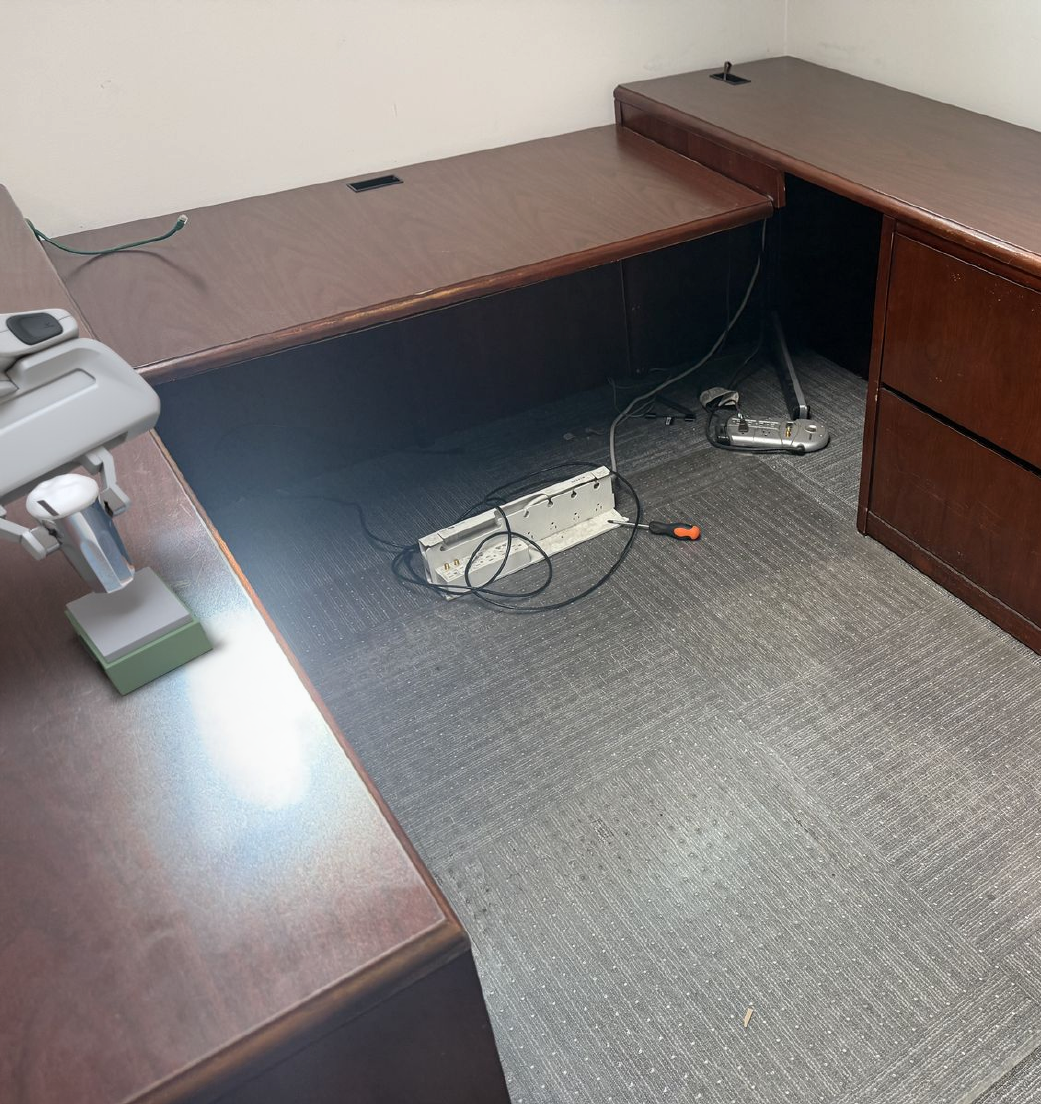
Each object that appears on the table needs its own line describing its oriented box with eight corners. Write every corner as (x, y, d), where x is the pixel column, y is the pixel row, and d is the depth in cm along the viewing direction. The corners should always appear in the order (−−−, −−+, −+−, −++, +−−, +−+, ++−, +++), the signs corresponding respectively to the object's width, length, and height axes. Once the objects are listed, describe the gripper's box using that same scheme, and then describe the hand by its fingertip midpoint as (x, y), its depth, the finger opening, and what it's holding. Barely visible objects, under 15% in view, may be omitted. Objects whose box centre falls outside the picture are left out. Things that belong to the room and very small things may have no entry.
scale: (119, 698, 76) (97, 663, 74) (77, 639, 81) (56, 605, 78) (213, 648, 80) (195, 613, 77) (167, 595, 85) (150, 561, 82)
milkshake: (72, 613, 74) (2, 507, 67) (86, 567, 78) (21, 462, 71) (138, 600, 75) (76, 494, 68) (148, 555, 79) (90, 450, 72)
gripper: (-231, 430, 61) (-63, 603, 64) (86, 300, 75) (215, 447, 77) (-218, 469, 66) (-62, 629, 68) (77, 339, 79) (200, 477, 81)
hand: (87, 531), depth 73 cm, fingers closed on milkshake, 4 cm apart
